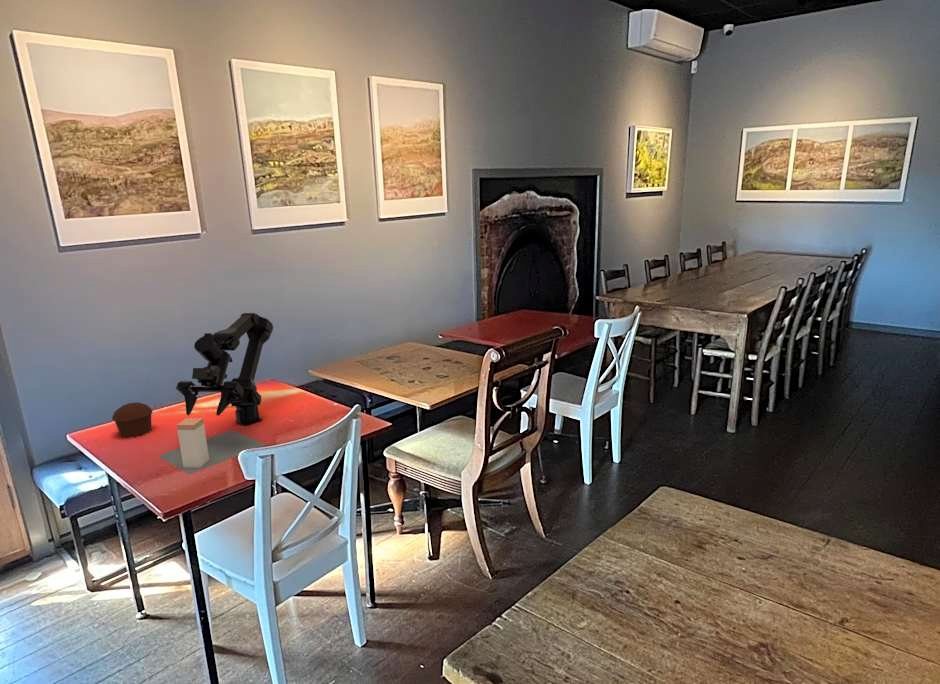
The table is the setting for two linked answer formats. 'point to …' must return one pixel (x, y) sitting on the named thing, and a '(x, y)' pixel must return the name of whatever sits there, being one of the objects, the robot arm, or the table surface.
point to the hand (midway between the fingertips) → (202, 415)
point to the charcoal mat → (215, 450)
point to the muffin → (133, 419)
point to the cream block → (193, 442)
